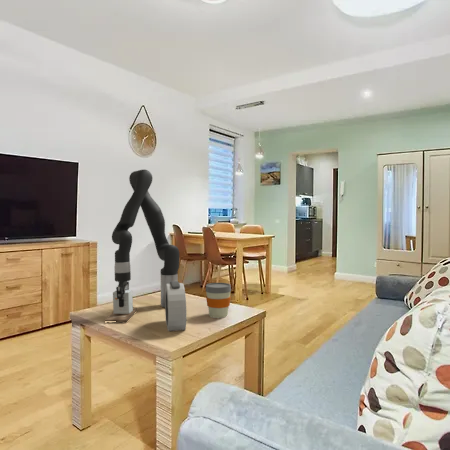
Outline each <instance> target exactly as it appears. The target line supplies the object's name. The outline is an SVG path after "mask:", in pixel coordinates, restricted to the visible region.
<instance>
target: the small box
mask: <svg viewBox="0 0 450 450" xmlns="http://www.w3.org/2000/svg"><path fill="white" fill-rule="evenodd" d="M120 296H121V294H120ZM133 303H134V301H133V290H132V289H129V290H126V292H125V294H124V306H123V307H119V299H117V290H115V291H113V292H112V304H113V305H112V308H113V309H112V313H114V314H129V313H131V312H132V311H133V308H134V305H133Z"/></svg>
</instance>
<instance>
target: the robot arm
mask: <svg viewBox="0 0 450 450" xmlns="http://www.w3.org/2000/svg"><path fill="white" fill-rule="evenodd" d="M128 179H129V184H130V186H131V188H132V191H133V193H132V195H131V197H130V198H129V199H128V201H127V203H126V204H125V206H124V208H123V210H122V212H121V216H120V219H119V221H118V222H117V224H116V226H115V227H114V229H113V231H112V234H111V240H112V241H111V242H113V244H115V245H118V249H117V250H115V252H114V281H115V282H116V283H118V285H117V286H116V287H115V289H116V290H117V299H119V307H123V306H124V294H125V292H126V290H130V281H131V278H132V275H131V273H132V272H131V262H130V261H131V258H130V257H131V256H130V252H131V249H132V244H133V235H132V233H131V231H129V229H130V228H132V227H134V225H135V222H136V219H137V216H138V213H139V210H140V208H141V211H142V213H143V215H144V218H145V221H146V225H147V226H148V229H149V232H150V234H151V236H152V239H153V241H154V245H155V248H156V254H157V256H158V258H159V259H160V260H161V261H163V267H162V268H161V269H160V307H163V308H165V287H166V284H170V282H173V281H178V280H179V278H178V277H179V276H178V272H179V268H180V251H179V250H180V249H179V247H177V245H174V244H170V243H169V241H168V239H167V235H166V231H165V230H166V221H165V220H166V219H165V217H164V214H163V211H162V209H161V208H160V206H159V204H158V203H157V202H156V201H155V200H154V199H153V197H152V196H151V194H150V192H149V189H150V187H151V186H152V183H153V175H152V173H151V171H150V170H148V169H139V170H135V171H131V172H130V175H129V177H128ZM178 282H179V281H178ZM116 290H115V291H116ZM120 294H121V296H120Z"/></svg>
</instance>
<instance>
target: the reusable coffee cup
mask: <svg viewBox="0 0 450 450" xmlns="http://www.w3.org/2000/svg"><path fill="white" fill-rule="evenodd" d="M231 291H232V287H231V283H226V282H210V283H206V285H205V293H206V300H205V301H206V304H207V305H206V306H207V308H208V315H209V317H210V318H214V319H222V318H223V319H224V318H226V316H227V315H228V314H229V307H230V305H231V304H230V303H231V298H232V297H231ZM228 316H229V315H228ZM228 316H227V317H228Z"/></svg>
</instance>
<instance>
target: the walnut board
mask: <svg viewBox="0 0 450 450" xmlns="http://www.w3.org/2000/svg"><path fill="white" fill-rule="evenodd" d="M136 311H137V312H138V308H135V307H133V311H132V312H131V313H129V314H114V313H113V312H112V313H111V314H110V315H108V316H107V317H106V318H105V319H104V322H105V321H116V322H127V321H128V320H129V319H130V318H131V317H132V318H133V317H134V315H135V314H136V313H137V312H136ZM135 312H136V313H135ZM134 313H135V314H134ZM132 318H131V319H132ZM131 319H130V320H131ZM130 320H129V321H130ZM129 321H128V322H129ZM128 322H127V323H128Z"/></svg>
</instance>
